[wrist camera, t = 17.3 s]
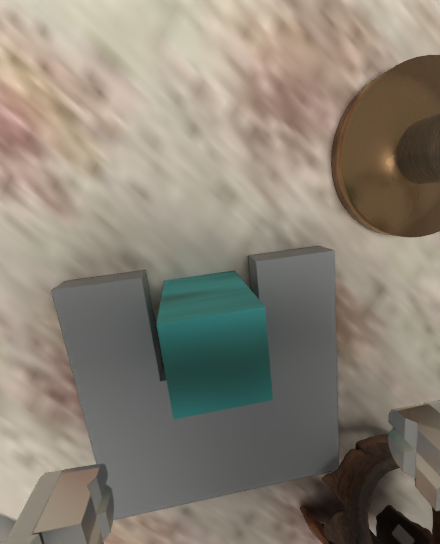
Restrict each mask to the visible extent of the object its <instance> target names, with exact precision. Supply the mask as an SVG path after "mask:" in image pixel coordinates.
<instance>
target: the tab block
mask: <svg viewBox="0 0 440 544" xmlns="http://www.w3.org/2000/svg"><path fill="white" fill-rule="evenodd" d="M156 326H157V331H158V337H159V342H160V348H161V353H162V359H163V364H164V370H165V375H166V381H167V387H168V392H169V398H170V403H171V409H172V414H173V420H174V419H179V418H184V417H189V416H195V415H200V414H205V413H210V412H215V411H220V410H225V409H230V408H236V407H241V406H246V405H251V404H256V403H261V402H266V401H271V400H273V393H272V382H271V370H270V358H269V347H268V335H267V323H266V312H265V306H264V305H263V304H262V303H261V301H260V300H259V299H258V298H257V297H256V295H255V294H254V293H253V292H252V291H251V290H250V288H249V287H248V286H247V285H246V284H245V282H244V281H243V280H242V279H241V278H240V276H239V275H238V274H237V273H236V272H235V271H229V272H222V273H215V274H208V275H201V276H194V277H188V278H181V279H174V280H167V281H164V286H163V291H162V296H161V302H160V307H159V312H158V318H157V323H156Z"/></svg>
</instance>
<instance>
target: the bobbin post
mask: <svg viewBox="0 0 440 544" xmlns="http://www.w3.org/2000/svg"><path fill="white" fill-rule="evenodd" d="M332 175H333V180H334V185H335V188H336V191H337V194H338V196H339V198H340V200H341V202H342V204H343V206H344V207H345V209H346V210H347V212H348V213H349V214H350V215H351V216H352V217H353V218H354V219H355V220H356V221H357V222H359V223H360V224H361V225H363V226H365V227H366V228H368V229H370V230H373V231H375V232H378V233H383V234H388V235H395V236H402V237H421V236H426V235H430V234H433V233H436V232H439V231H440V55H427V56H420V57H416V58H413V59H410V60H407V61H405V62H403V63H401V64H399V65H397V66H395V67H393V68H392V69H390V70H389V71H387V72H386V73H384V74H382V75H381V76H379V77H378V78H376V79H375V80H373V81H372V82H370V83H369V84H368V85H367V86H366V87H364V88H363V89H362V90H361V91H360V92H359V93H358V94H357V96H356V97H355V98H354V99H353V100H352V102H351V103H350V105H349V106H348V107H347V109H346V111H345V113H344V115H343V116H342V118H341V121H340V123H339V126H338V128H337V131H336V135H335V138H334V142H333V149H332Z"/></svg>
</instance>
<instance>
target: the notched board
mask: <svg viewBox="0 0 440 544" xmlns="http://www.w3.org/2000/svg"><path fill="white" fill-rule="evenodd" d="M248 259H249V270H250V281H251V291H252V292H253V293H254V294H255V295H256V297H257V298H258V299H259V300H260V301H261V303H262V304H263V305H264V306H265V312H266V323H267V335H268V347H269V358H270V370H271V382H272V393H273V400H271V401H266V402H261V403H256V404H251V405H246V406H241V407H236V408H230V409H225V410H220V411H215V412H210V413H205V414H200V415H195V416H189V417H184V418H179V419H174V420H173V414H172V409H171V403H170V398H169V392H168V387H167V381H166V375H165V370H164V364H162V361H161V356H160V350H159V345H158V339H157V333H156V328H155V322H154V317H153V311H152V305H151V300H150V294H149V289H148V283H147V277H146V272H145V270H142V271H135V272H127V273H120V274H113V275H106V276H99V277H91V278H84V279H77V280H70V281H64V282H63V283H62V284H60V285H59V286H57V287H56V288H54V289H53V290H51V292H52V296H53V300H54V304H55V307H56V311H57V315H58V319H59V323H60V327H61V330H62V334H63V338H64V342H65V346H66V350H67V353H68V357H69V361H70V365H71V369H72V373H73V376H74V380H75V384H76V388H77V392H78V396H79V399H80V403H81V407H82V411H83V415H84V419H85V422H86V426H87V430H88V434H89V438H90V442H91V445H92V449H93V453H94V457H95V461H96V464H102V463H103V464H105V465H106V468H107V472H108V478H107V482H106V484H107V485H108V486H109V487H111V488H112V492H113V498H114V515H113V520H116V519H120V518H125V517H129V516H134V515H138V514H143V513H147V512H152V511H156V510H161V509H165V508H170V507H174V506H179V505H183V504H188V503H192V502H196V501H201V500H205V499H210V498H214V497H219V496H223V495H228V494H232V493H237V492H241V491H246V490H250V489H255V488H259V487H264V486H268V485H273V484H277V483H281V482H286V481H290V480H295V479H299V478H304V477H308V476H313V475H317V474H322V473H326V472H331V471H335V470H337V469H338V468H339V437H338V392H337V347H336V302H335V257H334V250H331V249H328V248H324V247H321V246H315V247H307V248H300V249H293V250H286V251H279V252H271V253H264V254H257V255H250V256H248Z"/></svg>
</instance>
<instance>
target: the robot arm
mask: <svg viewBox="0 0 440 544" xmlns="http://www.w3.org/2000/svg"><path fill="white" fill-rule="evenodd" d="M389 423H390V424H391V425H392V426H393V429H392V430H391V432H390V433H389V434H388V445H389V448H390V451H391V454H392V456H393V458H394V460H395V462H396V463H397V465H398V466H399V467H400V468H401V470H402V471H403V472H404V473H406V474H408V475H410V476H412V477H414V478H415V486H416V488H417V489H418V490H419V492H420V493H421V494H422V495H423V496H424V498H425V499H426V500H427V501H428V502H429V504H430V505H431V506H432V507H433V508H434V510H435V511H439V510H440V400H437V401H432V402H427V403H423V404H418V405H413V406H408V407H403V408H398V409H392V410H391V411H390V413H389ZM107 478H108V472H107V468H106V465H105V464H103V463H102V464H96V465H90V466H83V467H77V468H71V469H65V470H62V471H55V472H48V473H45V474H44V475H43V476H41V477H40V479H39V480H38V482H37V484H36V486H35V488H34V490H33V492H32V493H31V495H30V497H29V499H28V501H27V503H26V505H25V507H24V508H23V510H22V512H21V514H20V516H19V518H18V520H17V521H16V523H15V525H14V527H13V529H12V531H11V533H10V535H9V537H8V539H7V540H5V541H0V544H104V542H103V541H104V540H105V539H106V537H107V536H108V535H109V534H110V532H111V528H112V523H113V515H114V498H113V492H112V488H111V487H109V486H108V485H107V484H106V482H107Z"/></svg>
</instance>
